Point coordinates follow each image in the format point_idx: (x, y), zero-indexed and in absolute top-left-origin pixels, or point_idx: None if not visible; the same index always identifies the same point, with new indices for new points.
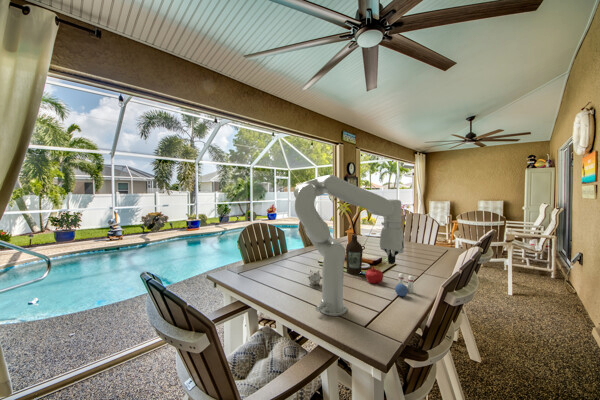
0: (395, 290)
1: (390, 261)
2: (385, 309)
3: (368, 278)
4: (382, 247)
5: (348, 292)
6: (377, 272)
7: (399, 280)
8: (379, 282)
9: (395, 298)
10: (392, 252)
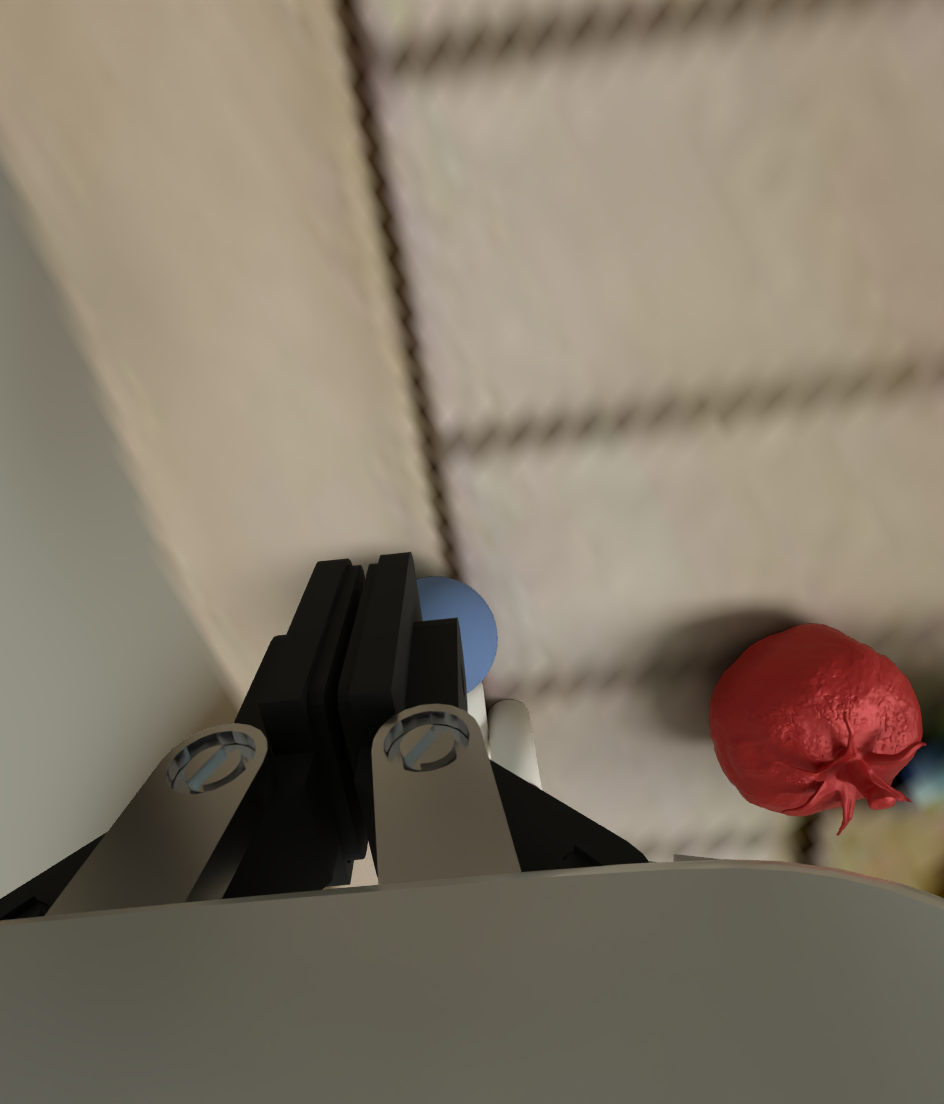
0: (474, 594)
1: (350, 596)
2: (365, 198)
3: (839, 638)
4: (764, 893)
5: (903, 224)
6: (791, 753)
7: (524, 766)
8: (718, 681)
9: (441, 518)
10: (197, 856)
